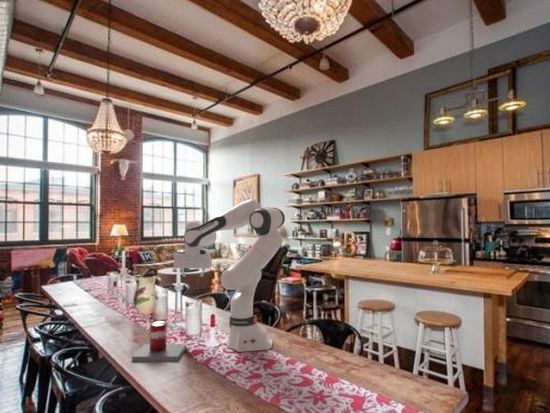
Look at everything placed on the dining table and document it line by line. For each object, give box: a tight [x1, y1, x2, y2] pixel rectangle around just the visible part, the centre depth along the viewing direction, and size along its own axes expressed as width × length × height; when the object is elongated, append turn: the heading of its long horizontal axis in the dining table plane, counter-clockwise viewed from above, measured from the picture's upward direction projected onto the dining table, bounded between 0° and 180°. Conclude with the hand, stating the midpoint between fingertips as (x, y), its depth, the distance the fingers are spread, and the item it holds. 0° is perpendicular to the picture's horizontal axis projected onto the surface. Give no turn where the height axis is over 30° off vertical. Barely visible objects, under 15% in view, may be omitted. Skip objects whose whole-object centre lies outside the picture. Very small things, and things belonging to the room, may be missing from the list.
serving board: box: [131, 343, 187, 362], centre depth 148 cm, size 20×14×2 cm
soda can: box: [149, 320, 168, 353], centre depth 149 cm, size 7×7×12 cm
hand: (192, 276), depth 176 cm, fingers open, 8 cm apart
